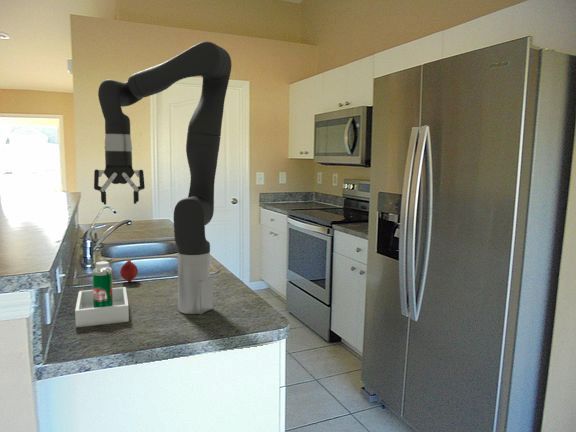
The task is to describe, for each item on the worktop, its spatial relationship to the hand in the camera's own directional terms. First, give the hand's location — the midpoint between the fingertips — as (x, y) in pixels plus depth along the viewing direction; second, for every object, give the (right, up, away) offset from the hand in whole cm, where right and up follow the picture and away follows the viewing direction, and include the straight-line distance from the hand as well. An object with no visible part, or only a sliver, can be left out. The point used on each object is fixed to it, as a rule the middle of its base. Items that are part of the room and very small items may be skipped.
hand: (120, 203), depth 135 cm
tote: (-2, -31, -9) cm, 33 cm away
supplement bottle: (-9, -29, +10) cm, 32 cm away
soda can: (-2, -31, -9) cm, 32 cm away
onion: (-6, -27, +23) cm, 36 cm away
